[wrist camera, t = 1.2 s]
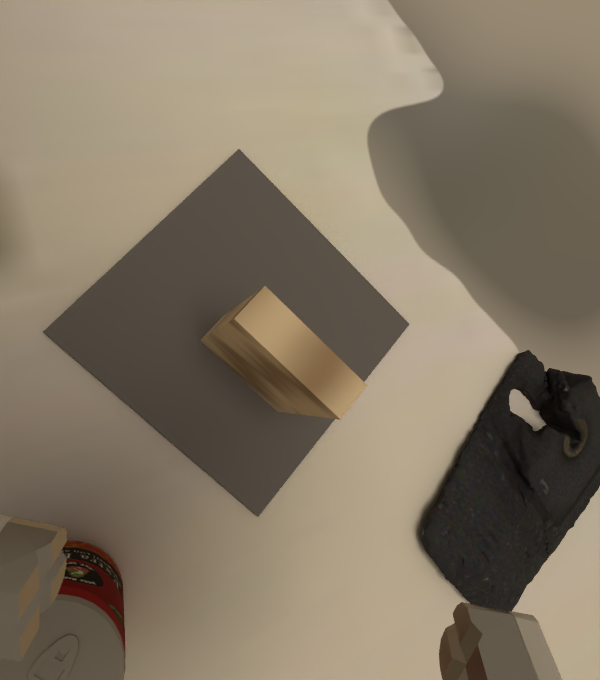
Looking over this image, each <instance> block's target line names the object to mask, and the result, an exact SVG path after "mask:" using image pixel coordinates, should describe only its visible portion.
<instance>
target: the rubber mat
mask: <svg viewBox="0 0 600 680" xmlns="http://www.w3.org/2000/svg"><path fill="white" fill-rule="evenodd" d="M264 286H266V287H267V288H268V289H269V290H270V291H271V292H272V293H273V294H274V295H275V296H276V297H277V298H278V299H279V300H280V301H281V302H282V303H283V304H284V305H286V306H287V307H288V308H289V309H290V310H291V311H292V312H293V313H294V314H295V315H296V316H297V317H298V318H299V319H300V320H301V321H302V322H303V323H304V324H305V325H306V326H307V327H308V328H309V329H310V330H311V331H312V332H313V333H314V334H315V335H316V336H317V337H318V338H319V339H320V340H321V341H322V342H323V343H324V344H326V345H327V346H328V347H329V348H330V349H331V350H332V351H333V352H334V353H335V354H336V355H337V356H338V357H339V358H340V359H341V360H342V361H343V362H344V363H345V364H346V365H347V366H348V367H349V368H350V369H351V370H352V371H353V372H354V373H355V374H356V375H357V376H358V377H359V378H360V379H361V380H362V381H363V382H364V381H365V380H366V379H367V378H368V376H369V375H370V374H371V372H372V371H373V370H374V369H375V367H376V366H377V365H378V364H379V362H380V361H381V360H382V358H383V357H384V356H385V355H386V353H387V352H388V351H389V350H390V348H391V347H392V346H393V344H394V343H395V342H396V341H397V339H398V338H399V337H400V336H401V334H402V333H403V332H404V330H405V329H406V328H407V327H408V325H409V323H408V322H407V321H406V320H405V319H404V318H403V317H402V316H401V315H400V314H399V313H398V312H397V311H396V310H395V309H394V308H393V307H392V306H391V305H390V304H389V303H388V302H387V301H386V299H385V298H384V297H383V296H382V295H381V294H380V293H379V292H378V291H377V290H376V289H375V288H374V287H373V286H372V285H371V284H370V283H369V282H368V281H367V280H366V279H365V278H364V277H363V276H362V275H361V274H360V273H359V272H358V271H357V270H356V269H355V268H354V267H353V266H352V265H351V263H350V262H349V261H348V260H347V259H346V258H345V257H344V256H343V255H342V254H341V253H340V252H339V251H338V250H337V249H336V248H335V247H334V246H333V245H332V244H331V243H330V242H329V241H328V240H327V239H326V238H325V237H324V236H323V235H322V234H321V233H320V232H319V231H318V230H317V229H316V228H315V226H314V225H313V224H312V223H311V222H310V221H309V220H308V219H307V218H306V217H305V216H304V215H303V214H302V213H301V212H300V211H299V210H298V209H297V208H296V207H295V206H294V205H293V204H292V203H291V202H290V201H289V200H288V199H287V198H286V197H285V196H284V195H283V194H282V193H281V192H280V190H279V189H278V188H277V187H276V186H275V185H274V184H273V183H272V182H271V181H270V180H269V179H268V178H267V177H266V176H265V175H264V174H263V173H262V172H261V171H260V170H259V169H258V168H257V167H256V166H255V165H254V164H253V163H252V162H251V161H250V160H249V159H248V158H247V157H246V156H245V154H244V153H243V152H242V151H241V150H240V149H238V150H237V151H236V152H235V153H234V154H233V155H232V156H231V157H230V158H229V159H228V160H227V161H226V162H225V163H223V164H222V165H221V166H220V167H219V168H218V169H217V170H216V171H215V172H214V173H213V174H212V175H211V176H210V177H208V178H207V179H206V180H205V181H204V182H203V183H202V184H201V185H200V186H199V187H198V188H197V189H196V190H195V191H193V192H192V193H191V194H190V195H189V196H188V197H187V198H186V199H185V200H184V201H183V202H182V203H181V204H180V205H178V206H177V207H176V208H175V209H174V210H173V211H172V212H171V213H170V214H169V215H168V216H167V217H166V218H165V219H164V220H162V221H161V222H160V223H159V224H158V225H157V226H156V227H155V228H154V229H153V230H152V231H151V232H150V233H149V234H147V235H146V236H145V237H144V238H143V239H142V240H141V241H140V242H139V243H138V244H137V245H136V246H135V247H134V248H132V249H131V250H130V251H129V252H128V253H127V254H126V255H125V256H124V257H123V258H122V259H121V260H120V261H119V262H117V263H116V264H115V265H114V266H113V267H112V268H111V269H110V270H109V271H108V272H107V273H106V274H105V275H104V276H103V277H101V278H100V279H99V280H98V281H97V282H96V283H95V284H94V285H93V286H92V287H91V288H90V289H89V290H88V291H86V292H85V293H84V294H83V295H82V296H81V297H80V298H79V299H78V300H77V301H76V302H75V303H74V304H73V305H71V306H70V307H69V308H68V309H67V310H66V311H65V312H64V313H63V314H62V315H61V316H60V317H59V318H58V319H56V320H55V321H54V322H53V323H52V324H51V325H50V326H49V327H48V328H47V329H46V330H45V331H44V333H45V334H46V335H47V336H48V337H49V338H51V339H52V340H53V341H54V342H55V343H56V344H58V345H59V346H60V347H61V348H62V349H63V350H65V351H66V352H67V353H68V354H69V355H70V356H72V357H73V358H74V359H75V360H76V361H77V362H79V363H80V364H81V365H82V366H83V367H84V368H86V369H87V370H88V371H89V372H90V373H91V374H92V375H94V376H95V377H96V378H97V379H98V380H99V381H101V382H102V383H103V384H104V385H105V386H106V387H108V388H109V389H110V390H111V391H112V392H113V393H115V394H116V395H117V396H118V397H119V398H120V399H122V400H123V401H124V402H125V403H126V404H127V405H129V406H130V407H131V408H132V409H133V410H134V411H136V412H137V413H138V414H139V415H140V416H141V417H142V418H144V419H145V420H146V421H147V422H148V423H149V424H151V425H152V426H153V427H154V428H155V429H156V430H158V431H159V432H160V433H161V434H162V435H163V436H165V437H166V438H167V439H168V440H169V441H170V442H172V443H173V444H174V445H175V446H176V447H177V448H179V449H180V450H181V451H182V452H183V453H184V454H185V455H187V456H188V457H189V458H190V459H191V460H192V461H194V462H195V463H196V464H197V465H198V466H199V467H201V468H202V469H203V470H204V471H205V472H206V473H208V474H209V475H210V476H211V477H212V478H213V479H215V480H216V481H217V482H218V483H219V484H220V485H222V486H223V487H224V488H225V489H226V490H227V491H229V492H230V493H231V494H232V495H233V496H234V497H235V498H237V499H238V500H239V501H240V502H241V503H242V504H244V505H245V506H246V507H247V508H248V509H249V510H251V511H252V512H253V513H254V514H255V515H256V516H259V515H260V514H261V512H262V511H263V510H264V509H265V507H266V506H267V505H268V503H269V502H270V501H271V500H272V498H273V497H274V496H275V495H276V493H277V492H278V491H279V489H280V488H281V487H282V486H283V484H284V483H285V482H286V481H287V479H288V478H289V477H290V475H291V474H292V473H293V472H294V470H295V469H296V468H297V467H298V465H299V464H300V463H301V461H302V460H303V459H304V458H305V456H306V455H307V454H308V453H309V451H310V450H311V449H312V448H313V446H314V445H315V444H316V442H317V441H318V440H319V439H320V437H321V436H322V435H323V434H324V432H325V431H326V430H327V428H328V427H329V426H330V425H331V423H332V422H333V421H334V420H335V419H332V418H324V417H316V416H308V415H299V414H291V413H283V412H277V411H276V410H275V409H274V408H273V407H272V406H270V405H269V404H268V403H267V402H266V401H265V400H264V399H263V398H262V397H261V396H260V395H259V394H257V393H256V392H255V391H254V390H253V389H252V388H251V387H250V386H249V385H248V384H247V383H245V382H244V381H243V380H242V379H241V378H240V377H239V376H238V375H237V374H236V373H235V372H234V371H232V370H231V369H230V368H229V367H228V366H227V365H226V364H225V363H224V362H223V361H222V360H220V359H219V358H218V357H217V356H216V355H215V354H214V353H213V352H212V351H211V350H210V349H208V348H207V347H206V346H205V345H204V344H203V343H202V342H201V341H200V340H201V339H202V338H203V337H204V336H205V335H206V333H207V332H208V331H209V330H210V329H211V328H212V327H213V326H214V325H215V324H216V323H217V322H218V321H219V320H220V319H221V317H222V316H224V315H225V314H227V313H228V312H229V311H231V310H232V309H233V308H235V307H236V306H238V305H239V304H240V303H242V302H243V301H244V300H246V299H247V298H249V297H250V296H251V295H253V294H254V293H255V292H257V291H258V290H260V289H261V288H262V287H264Z"/></svg>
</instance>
